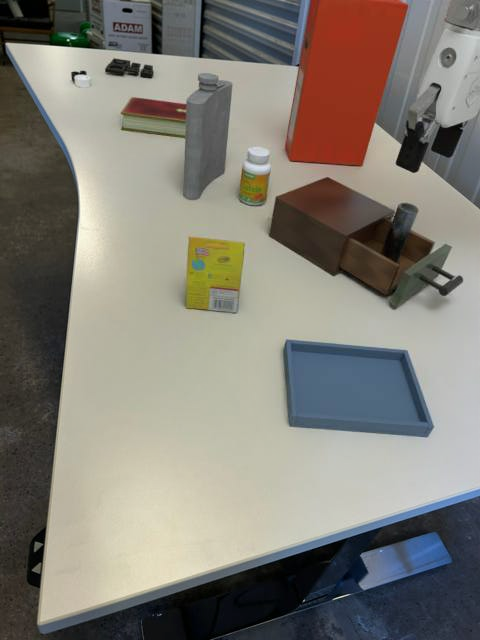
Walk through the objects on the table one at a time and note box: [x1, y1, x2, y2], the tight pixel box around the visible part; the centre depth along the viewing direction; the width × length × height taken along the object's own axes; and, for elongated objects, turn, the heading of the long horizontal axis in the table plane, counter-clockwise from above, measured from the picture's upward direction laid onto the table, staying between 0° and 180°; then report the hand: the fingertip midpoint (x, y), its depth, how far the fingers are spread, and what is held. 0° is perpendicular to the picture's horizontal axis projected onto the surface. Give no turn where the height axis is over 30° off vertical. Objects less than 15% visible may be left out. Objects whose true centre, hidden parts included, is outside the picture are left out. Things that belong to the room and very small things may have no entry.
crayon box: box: [185, 236, 246, 314], centre depth 65 cm, size 7×3×12 cm, turn 88°
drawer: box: [339, 218, 464, 308], centre depth 75 cm, size 18×13×6 cm
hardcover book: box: [120, 96, 186, 139], centre depth 116 cm, size 12×21×4 cm, turn 88°
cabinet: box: [268, 176, 396, 277], centre depth 82 cm, size 15×14×8 cm
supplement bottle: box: [238, 146, 272, 206], centre depth 90 cm, size 5×5×10 cm
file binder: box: [284, 0, 409, 167], centre depth 103 cm, size 8×17×32 cm, turn 95°
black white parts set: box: [70, 57, 154, 89], centre depth 140 cm, size 20×25×3 cm
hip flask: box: [182, 72, 233, 201], centre depth 90 cm, size 16×4×20 cm, turn 160°
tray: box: [283, 338, 435, 438], centre depth 59 cm, size 16×12×2 cm
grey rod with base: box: [381, 202, 419, 265], centre depth 74 cm, size 4×5×10 cm
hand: (424, 161), depth 66 cm, fingers open, 9 cm apart
